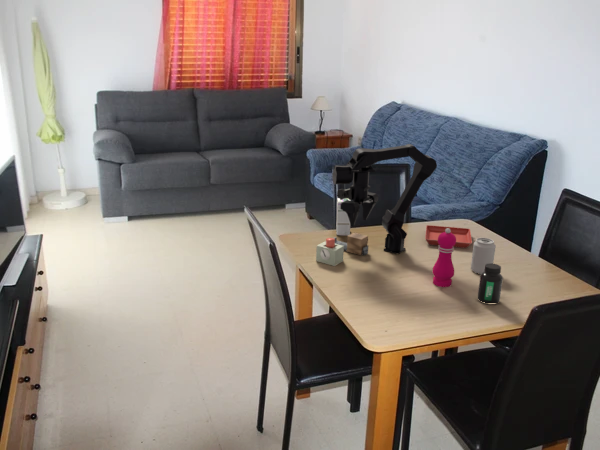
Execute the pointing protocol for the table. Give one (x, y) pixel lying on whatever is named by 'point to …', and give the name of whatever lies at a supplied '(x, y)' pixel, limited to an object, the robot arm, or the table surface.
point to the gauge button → (330, 242)
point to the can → (482, 254)
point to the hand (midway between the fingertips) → (358, 223)
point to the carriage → (356, 243)
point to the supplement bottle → (490, 284)
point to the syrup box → (342, 220)
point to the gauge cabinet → (329, 254)
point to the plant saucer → (460, 233)
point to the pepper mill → (444, 260)
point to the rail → (364, 251)
